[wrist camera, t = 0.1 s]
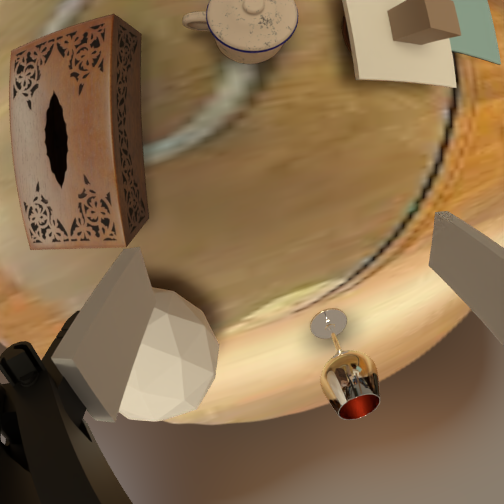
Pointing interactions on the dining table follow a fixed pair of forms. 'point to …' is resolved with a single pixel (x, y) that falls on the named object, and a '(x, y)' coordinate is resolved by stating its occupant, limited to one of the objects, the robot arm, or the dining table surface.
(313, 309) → the dining table surface
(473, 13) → the mat
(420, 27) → the lid
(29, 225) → the tissue box cover
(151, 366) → the ball
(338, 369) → the wineglass
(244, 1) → the teacup with lid
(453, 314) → the dining table surface
